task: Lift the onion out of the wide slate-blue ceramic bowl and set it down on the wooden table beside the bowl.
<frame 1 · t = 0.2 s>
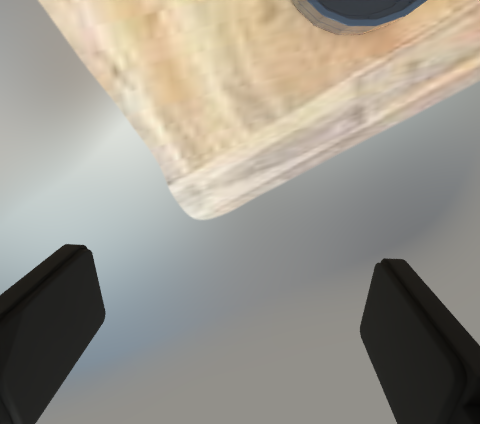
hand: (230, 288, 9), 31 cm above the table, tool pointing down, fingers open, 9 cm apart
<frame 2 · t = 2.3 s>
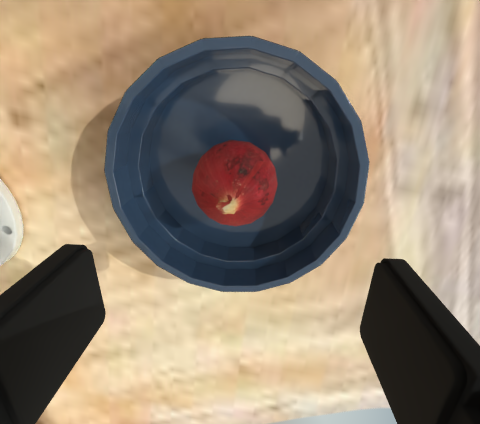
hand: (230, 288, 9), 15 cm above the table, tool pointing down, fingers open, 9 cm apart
onion: (238, 169, 23), resting on bowl
bowl: (238, 168, 23), on the table
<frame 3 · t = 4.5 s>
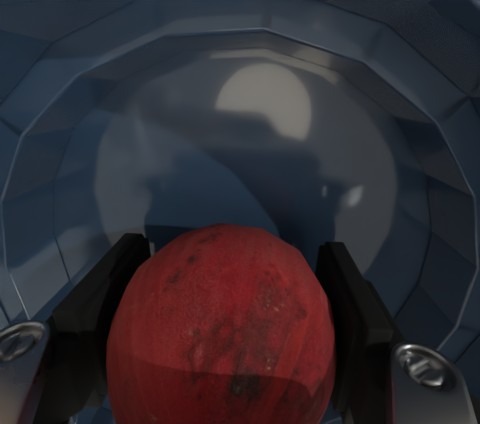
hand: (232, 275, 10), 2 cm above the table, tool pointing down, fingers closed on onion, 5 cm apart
onion: (235, 254, 11), resting on bowl, touching gripper
bowl: (235, 252, 11), on the table
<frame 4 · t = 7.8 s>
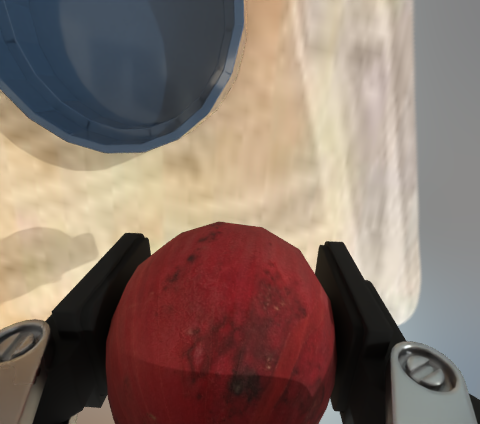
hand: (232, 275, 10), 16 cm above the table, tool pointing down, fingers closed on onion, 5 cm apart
onion: (235, 254, 11), point 14 cm above the table, touching gripper
bowl: (131, 23, 21), on the table
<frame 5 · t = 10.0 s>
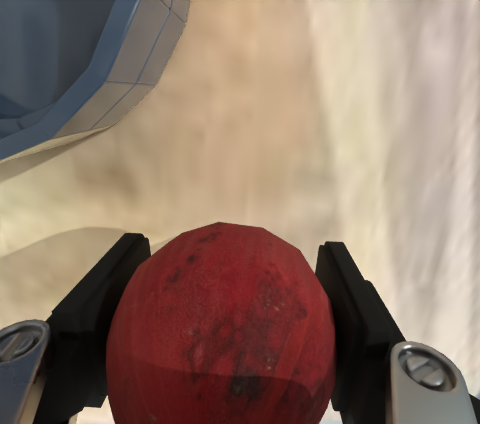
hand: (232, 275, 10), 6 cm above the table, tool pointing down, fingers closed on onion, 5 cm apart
onion: (235, 254, 11), point 4 cm above the table, touching gripper
when the fingers open (1 cm above the table, at t = 11.6 s): onion stays where it is, on the table.
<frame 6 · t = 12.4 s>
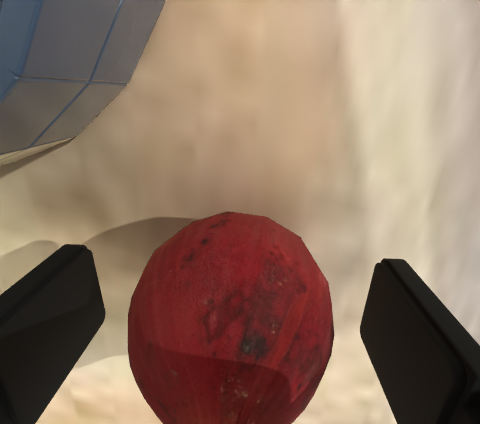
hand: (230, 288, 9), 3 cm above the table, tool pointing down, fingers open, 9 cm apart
onion: (240, 245, 12), on the table
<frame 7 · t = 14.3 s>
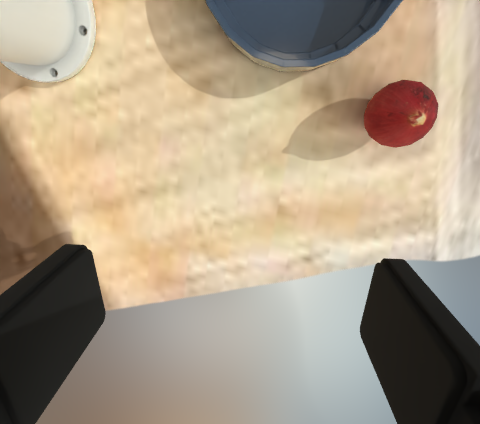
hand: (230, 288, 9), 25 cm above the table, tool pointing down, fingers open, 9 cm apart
onion: (382, 112, 29), on the table
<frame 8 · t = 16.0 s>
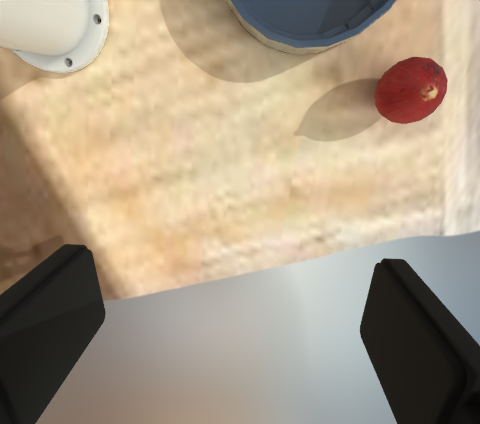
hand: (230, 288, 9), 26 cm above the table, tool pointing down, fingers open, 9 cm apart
onion: (391, 91, 30), on the table
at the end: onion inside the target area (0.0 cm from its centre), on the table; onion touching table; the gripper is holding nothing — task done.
